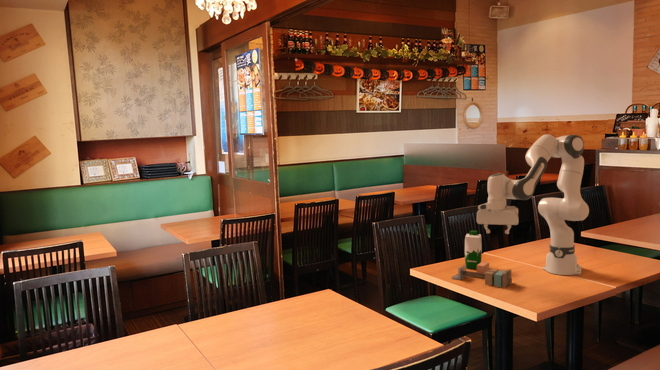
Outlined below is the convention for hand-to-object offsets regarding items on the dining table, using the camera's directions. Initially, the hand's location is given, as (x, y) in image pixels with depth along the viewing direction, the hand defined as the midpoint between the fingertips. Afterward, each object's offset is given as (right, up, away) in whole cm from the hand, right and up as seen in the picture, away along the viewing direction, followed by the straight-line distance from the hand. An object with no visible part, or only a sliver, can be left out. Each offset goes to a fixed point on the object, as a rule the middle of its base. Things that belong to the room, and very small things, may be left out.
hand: (497, 233), depth 254 cm
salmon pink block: (-3, -23, +13) cm, 27 cm away
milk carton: (-4, -22, +28) cm, 36 cm away
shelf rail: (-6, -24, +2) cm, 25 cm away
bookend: (-17, -24, +10) cm, 31 cm away
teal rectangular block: (0, -25, -4) cm, 25 cm away
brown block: (-3, -25, -1) cm, 25 cm away
